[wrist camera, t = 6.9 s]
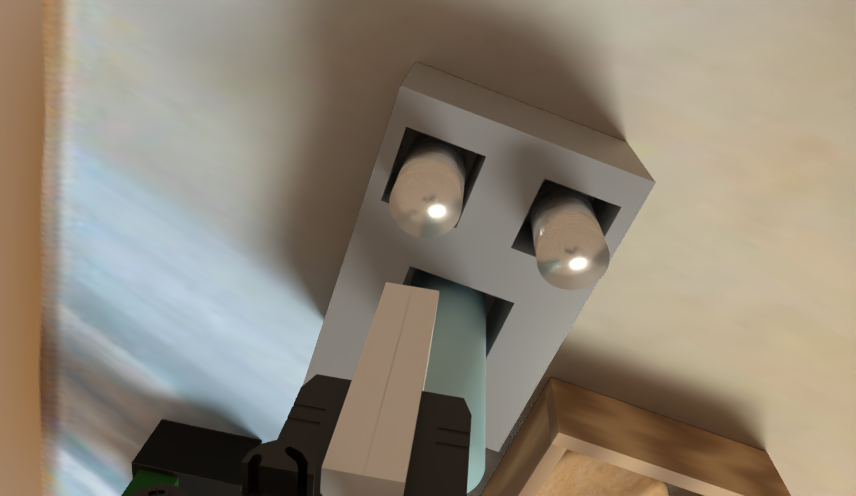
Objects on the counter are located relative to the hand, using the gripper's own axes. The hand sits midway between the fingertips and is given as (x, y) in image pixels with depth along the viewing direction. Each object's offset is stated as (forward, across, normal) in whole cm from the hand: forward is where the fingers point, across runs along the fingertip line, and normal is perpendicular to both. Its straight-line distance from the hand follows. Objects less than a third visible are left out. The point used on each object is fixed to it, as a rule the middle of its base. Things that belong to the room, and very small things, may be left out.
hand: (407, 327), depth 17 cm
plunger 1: (+14, +1, 0) cm, 14 cm away
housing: (+18, -1, +6) cm, 19 cm away
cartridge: (+16, -1, +8) cm, 17 cm away
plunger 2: (+15, -6, +1) cm, 16 cm away
